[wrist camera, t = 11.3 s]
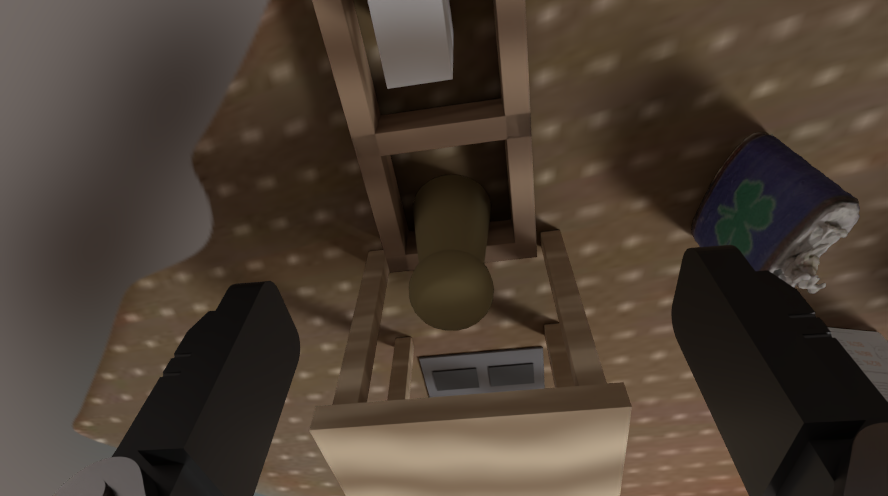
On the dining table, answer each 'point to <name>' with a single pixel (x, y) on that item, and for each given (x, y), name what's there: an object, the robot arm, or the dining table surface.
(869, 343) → the small box
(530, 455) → the wooden stool
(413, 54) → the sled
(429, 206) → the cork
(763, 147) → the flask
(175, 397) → the robot arm
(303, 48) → the dining table surface
